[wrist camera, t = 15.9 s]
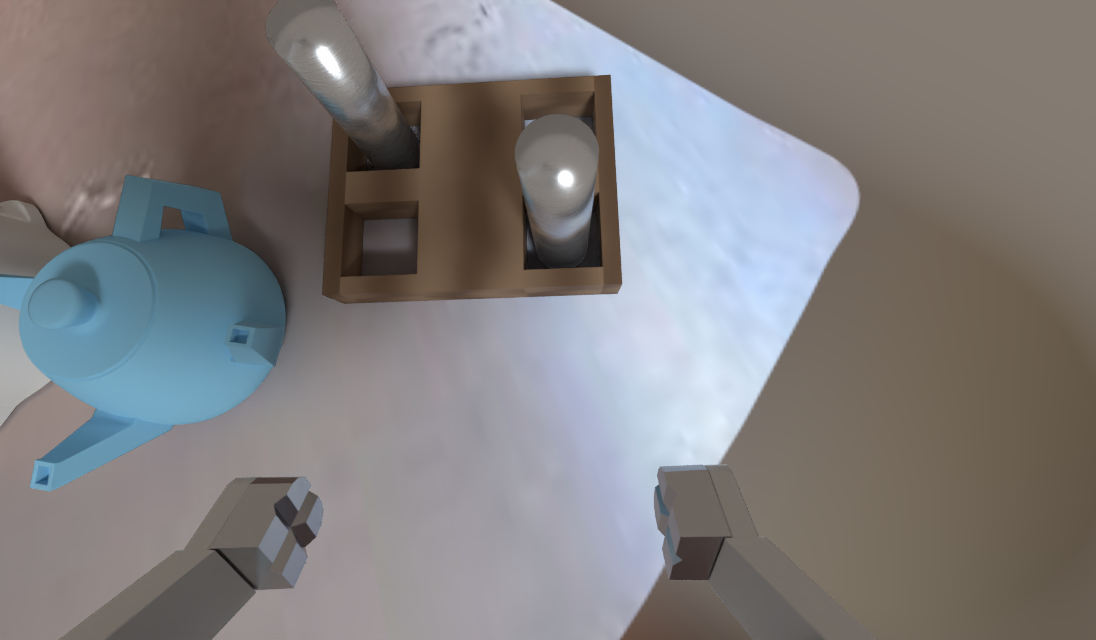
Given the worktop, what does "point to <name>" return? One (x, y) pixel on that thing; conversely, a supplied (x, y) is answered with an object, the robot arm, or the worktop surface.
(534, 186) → the pin
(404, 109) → the socket board
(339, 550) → the worktop surface
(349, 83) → the pin
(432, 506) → the worktop surface
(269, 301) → the teapot
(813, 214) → the worktop surface
